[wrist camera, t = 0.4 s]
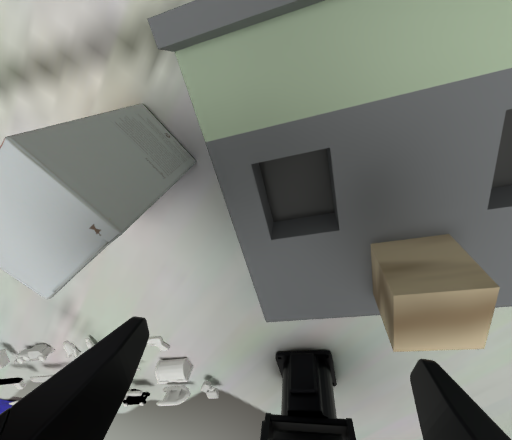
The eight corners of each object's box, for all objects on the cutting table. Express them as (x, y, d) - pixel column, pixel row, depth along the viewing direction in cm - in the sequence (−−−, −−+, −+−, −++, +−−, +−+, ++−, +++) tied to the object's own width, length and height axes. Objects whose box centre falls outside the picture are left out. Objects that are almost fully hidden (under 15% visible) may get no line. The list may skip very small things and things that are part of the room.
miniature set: (31, 391, 44) (-9, 336, 40) (223, 375, 38) (198, 309, 34) (-9, 433, 38) (-60, 373, 34) (212, 422, 32) (180, 348, 28)
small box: (144, 101, 19) (2, 130, 10) (199, 161, 20) (123, 234, 11) (88, 167, 22) (-56, 235, 13) (140, 214, 24) (45, 303, 15)
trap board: (552, 273, 21) (617, 324, 17) (268, 297, 27) (264, 341, 22) (709, -154, 11) (988, -305, 6) (186, 32, 16) (147, 18, 12)
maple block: (442, 288, 20) (484, 348, 15) (373, 294, 21) (393, 351, 17) (449, 234, 17) (499, 287, 13) (370, 243, 19) (393, 295, 14)
